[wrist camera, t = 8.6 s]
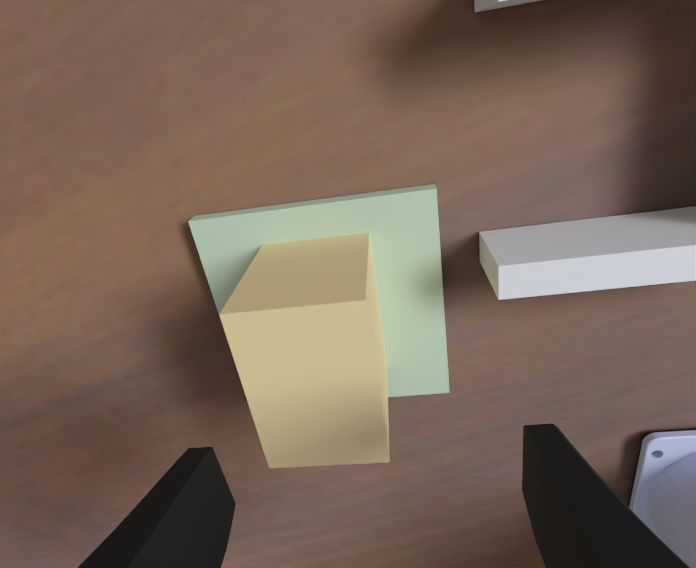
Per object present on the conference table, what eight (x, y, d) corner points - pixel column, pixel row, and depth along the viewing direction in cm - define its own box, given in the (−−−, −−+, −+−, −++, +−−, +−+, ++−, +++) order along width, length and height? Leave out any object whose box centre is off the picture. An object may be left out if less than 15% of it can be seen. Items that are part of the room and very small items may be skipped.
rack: (745, 232, 16) (819, 268, 13) (479, 261, 17) (498, 299, 14) (834, -106, 12) (971, -154, 9) (473, -36, 13) (498, -61, 10)
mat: (447, 383, 20) (449, 392, 19) (252, 398, 21) (249, 407, 20) (434, 184, 16) (436, 188, 15) (194, 216, 17) (188, 221, 16)
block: (387, 365, 19) (389, 462, 14) (294, 372, 19) (269, 468, 15) (369, 232, 16) (365, 300, 12) (262, 244, 16) (219, 314, 12)
